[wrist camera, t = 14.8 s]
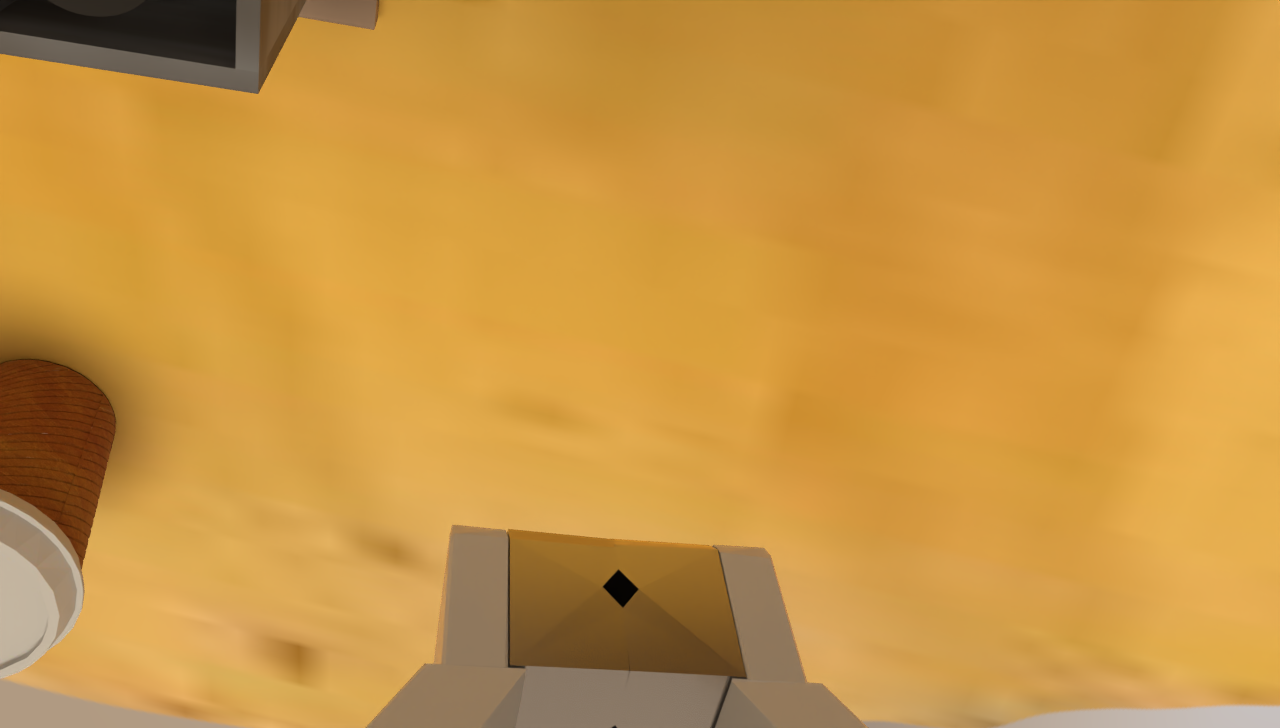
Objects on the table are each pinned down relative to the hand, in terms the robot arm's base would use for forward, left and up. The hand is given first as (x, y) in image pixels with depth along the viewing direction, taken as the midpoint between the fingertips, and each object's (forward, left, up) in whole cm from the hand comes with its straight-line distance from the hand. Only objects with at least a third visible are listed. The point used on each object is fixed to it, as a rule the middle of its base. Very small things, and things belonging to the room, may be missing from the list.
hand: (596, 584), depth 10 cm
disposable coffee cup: (+31, -2, -36) cm, 48 cm away
